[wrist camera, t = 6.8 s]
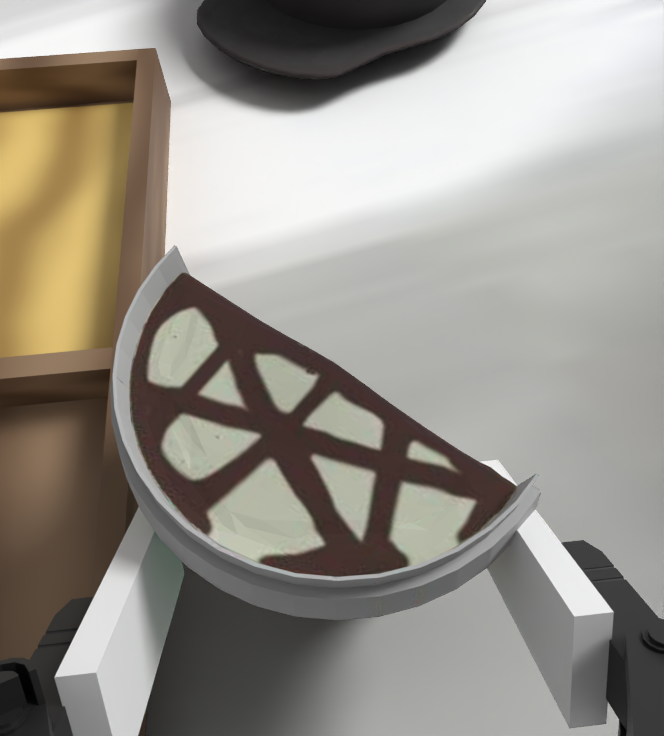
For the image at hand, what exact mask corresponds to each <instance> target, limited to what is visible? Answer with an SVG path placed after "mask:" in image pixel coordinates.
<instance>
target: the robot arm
mask: <svg viewBox="0 0 664 736" xmlns="http://www.w3.org/2000/svg"><path fill="white" fill-rule="evenodd" d="M481 463H483V464H485V465H487V466H489V467H491V468H492V469H494V470H495V471H496V472H497V473H499V474H500V475H501V476H503V477H504V478H506V479H507V480H509V481H510V482H512V483H513V484H514V485H516V486H517V484H516V483H515V482H514V481H513V479H512V478H511V477H510V475H509V474H508V473H507V471H506V470H505V469H504V467H503V466H502V465H501V463H500V462H499V461H498V460H491V461H481ZM487 569H488V571H489V573H490V574H491V576H492V578H493V580H494V582H495V584H496V586H497V588H498V590H499V592H500V594H501V596H502V598H503V600H504V602H505V604H506V606H507V608H508V610H509V611H510V613H511V615H512V617H513V619H514V621H515V623H516V625H517V627H518V629H519V631H520V633H521V635H522V637H523V639H524V641H525V643H526V645H527V647H528V648H529V650H530V652H531V654H532V656H533V658H534V660H535V662H536V664H537V666H538V668H539V670H540V672H541V674H542V676H543V678H544V680H545V682H546V684H547V685H548V687H549V689H550V691H551V693H552V695H553V697H554V699H555V701H556V703H557V705H558V707H559V709H560V711H561V713H562V715H563V717H564V719H565V721H566V722H567V724H568V726H569V728H576V727H584V726H592V725H600V724H606V718H607V704H608V702H609V704H610V705H611V707H612V709H613V710H614V712H615V714H616V715H617V717H618V718H619V730H618V736H664V620H663V619H660V618H658V617H657V615H656V614H655V613H654V612H653V611H652V610H651V608H650V607H649V606H648V605H647V604H646V603H645V601H644V600H643V599H642V598H641V597H640V596H639V594H638V593H637V592H636V591H635V590H634V589H633V587H632V586H631V585H630V584H629V583H628V582H627V580H624V578H623V576H622V575H621V573H620V572H619V571H618V570H617V569H616V568H614V565H613V564H612V563H611V562H610V561H609V559H608V558H607V557H606V556H605V555H604V554H603V552H602V551H600V550H598V549H597V548H595V547H593V546H592V545H590V544H589V543H587V542H585V541H584V540H581V541H572V542H563V543H561V542H560V541H559V540H558V538H557V537H556V536H555V534H554V533H553V532H552V530H551V529H550V528H549V526H548V525H547V524H546V523H545V521H544V520H543V519H542V517H541V516H540V515H539V513H538V512H537V511H536V509H535V510H534V512H533V513H532V514H531V515H530V516H529V517H528V518H527V520H526V521H525V522H524V523H523V524H522V525H521V526H520V527H519V529H517V531H516V533H515V536H514V538H513V540H512V542H511V545H510V546H509V547H508V548H507V549H506V550H505V551H504V552H503V553H502V554H501V555H500V556H499V557H498V558H497V559H496V560H495V561H494V562H493V563H492V564H491V565H490V566H489V567H488V568H487ZM183 578H184V569H183V564H182V561H181V560H180V559H179V558H178V557H177V556H176V555H175V554H174V553H173V552H172V551H171V550H170V549H169V548H168V547H167V546H166V545H165V544H164V543H163V542H162V541H161V540H160V538H159V537H158V535H157V534H156V532H155V531H154V529H153V528H152V526H151V525H150V523H149V522H148V521H147V519H146V518H145V516H144V515H143V513H142V512H141V510H140V508H139V507H138V509H137V512H136V514H135V516H134V518H133V520H132V522H131V524H130V526H129V528H128V530H127V532H126V534H125V536H124V538H123V540H122V542H121V544H120V546H119V548H118V550H117V552H116V554H115V556H114V558H113V560H112V562H111V564H110V566H109V568H108V570H107V572H106V574H105V576H104V578H103V580H102V582H101V584H100V586H99V588H98V590H97V592H96V594H95V596H94V597H86V598H77V599H72V600H70V601H69V602H68V603H67V604H66V605H65V606H64V607H63V608H62V609H61V610H60V611H59V612H58V613H56V614H55V616H54V618H53V619H52V621H51V623H50V625H49V626H48V628H47V630H46V634H45V635H43V637H42V639H41V640H40V642H39V644H38V648H37V649H35V651H34V653H33V655H32V656H31V658H30V660H28V659H25V658H9V659H5V660H2V661H0V736H138V734H139V731H140V727H141V724H142V720H143V717H144V713H145V710H146V706H147V703H148V699H149V696H150V692H151V689H152V686H153V682H154V679H155V675H156V672H157V668H158V665H159V661H160V658H161V654H162V651H163V647H164V644H165V640H166V637H167V633H168V630H169V626H170V623H171V620H172V616H173V613H174V609H175V606H176V602H177V599H178V595H179V592H180V588H181V585H182V581H183Z"/></svg>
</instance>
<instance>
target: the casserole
mask: <svg viewBox="0 0 664 736" xmlns="http://www.w3.org/2000/svg"><path fill="white" fill-rule="evenodd" d="M485 2H486V0H204V2H203V3H202V5H201V6H200V7H199V9H198V10H197V25H198V26H199V28H200V30H201V31H202V33H203V35H204V36H205V37H206V38H207V39H208V40H209V41H210V42H211V43H212V44H213V45H214V46H215V47H217V48H218V49H219V50H220V51H222V52H224V53H225V54H227V55H229V56H230V57H232V58H234V59H235V60H237V61H239V62H241V63H243V64H246V65H248V66H251V67H254V68H256V69H259V70H262V71H264V72H268V73H273V74H277V75H282V76H286V77H290V78H302V79H315V80H318V79H326V78H332V77H338V76H341V75H343V74H346V73H348V72H350V71H352V70H354V69H356V68H358V67H361V66H363V65H365V64H367V63H369V62H371V61H373V60H376V59H378V58H380V57H382V56H384V55H387V54H390V53H393V52H397V51H400V50H403V49H407V48H410V47H413V46H416V45H420V44H423V43H426V42H429V41H433V40H436V39H438V38H440V37H442V36H444V35H446V34H448V33H450V32H452V31H454V30H456V29H458V28H459V27H461V26H462V25H463V24H464V23H466V22H467V21H468V20H470V19H471V18H472V17H474V16H475V15H476V13H477V12H478V11H479V9H480V8H481V7H482V6H483V4H484V3H485Z"/></svg>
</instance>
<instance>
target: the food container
mask: <svg viewBox="0 0 664 736" xmlns="http://www.w3.org/2000/svg"><path fill="white" fill-rule="evenodd" d="M110 398H111V418H112V425H113V430H114V434H115V438H116V442H117V447H118V451H119V455H120V458H121V462H122V465H123V468H124V472H125V475H126V478H127V481H128V483H129V485H130V488H131V490H132V492H133V494H134V497H135V499H136V501H137V503H138V506H139V508H140V510H141V512H142V513H143V515H144V516H145V518H146V519H147V521H148V522H149V523H150V525H151V526H152V528H153V529H154V531H155V532H156V534H157V535H158V537H159V538H160V540H161V541H162V542H163V543H164V544H165V545H166V546H167V547H168V548H169V549H170V550H171V551H172V552H173V553H174V554H175V555H176V556H177V557H178V558H179V559H180V560H181V561H182V562H183V563H184V564H185V565H186V566H187V567H188V568H190V569H191V570H193V571H194V572H195V573H197V574H198V575H200V576H201V577H203V578H204V579H205V580H207V581H208V582H210V583H211V584H213V585H214V586H215V587H217V588H218V589H220V590H222V591H224V592H226V593H229V594H231V595H233V596H235V597H237V598H239V599H242V600H244V601H246V602H248V603H250V604H252V605H255V606H257V607H261V608H265V609H269V610H272V611H276V612H280V613H284V614H288V615H291V616H295V617H306V618H317V619H329V620H346V619H358V618H370V617H380V616H383V615H387V614H391V613H395V612H399V611H403V610H406V609H410V608H414V607H418V606H420V605H423V604H425V603H427V602H429V601H431V600H434V599H436V598H438V597H440V596H442V595H445V594H447V593H449V592H451V591H453V590H455V589H457V588H458V587H460V586H461V585H463V584H464V583H466V582H467V581H469V580H470V579H472V578H473V577H474V576H476V575H477V574H479V573H480V572H482V571H483V570H485V569H486V568H488V567H489V566H490V565H491V564H492V563H493V562H494V561H495V560H496V559H497V558H498V557H499V556H500V555H501V554H502V553H503V552H504V551H505V550H506V549H507V548H508V547H509V546H510V545H511V542H512V540H513V538H514V536H515V533H516V531H517V529H519V527H520V526H521V525H522V524H523V523H524V522H525V521H526V520H527V518H528V517H529V516H530V515H531V514H532V513H533V512H534V510H535V509H536V506H537V503H538V500H539V497H540V494H541V490H539V489H537V488H536V487H534V486H533V484H534V483H535V482H536V480H537V479H538V477H539V475H537V474H535V475H534V476H532V477H531V478H529V479H527V480H526V481H524V482H523V483H521V484H519V485H518V486H516V485H514V484H513V483H512V482H510V481H509V480H507V479H506V478H504V477H503V476H501V475H500V474H499V473H497V472H496V471H495V470H494V469H492V468H491V467H489V466H487V465H485V464H483V463H481V462H478V461H477V460H475V459H473V458H472V457H470V456H468V455H466V454H465V453H463V452H461V451H460V450H458V449H457V448H455V447H454V446H452V445H451V444H449V443H448V442H446V441H445V440H443V439H442V438H440V437H439V436H437V435H436V434H434V433H433V432H431V431H430V430H428V429H427V428H425V427H424V426H422V425H421V424H419V423H418V422H416V421H415V420H413V419H412V418H410V417H409V416H408V415H406V414H405V413H403V412H402V411H400V410H399V409H398V408H396V407H395V406H393V405H392V404H390V403H389V402H388V401H386V400H385V399H384V398H382V397H381V396H380V395H378V394H377V393H375V392H374V391H373V390H371V389H370V388H369V387H367V386H366V385H365V384H363V383H362V382H361V381H359V380H358V379H356V378H355V377H354V376H352V375H351V374H349V373H348V372H347V371H345V370H344V369H342V368H341V367H340V366H338V365H337V364H335V363H334V362H332V361H331V360H329V359H327V358H325V357H324V356H322V355H320V354H318V353H317V352H315V351H313V350H311V349H310V348H308V347H306V346H304V345H302V344H301V343H299V342H297V341H295V340H293V339H291V338H289V337H288V336H286V335H284V334H282V333H281V332H279V331H277V330H275V329H274V328H272V327H270V326H269V325H267V324H265V323H263V322H262V321H260V320H258V319H257V318H255V317H254V316H252V315H251V314H249V313H247V312H246V311H244V310H243V309H241V308H240V307H238V306H237V305H235V304H233V303H232V302H230V301H229V300H227V299H226V298H224V297H223V296H221V295H219V294H218V293H216V292H215V291H213V290H212V289H210V288H209V287H207V286H205V285H204V284H202V283H201V282H199V281H198V280H196V279H195V278H193V277H192V276H190V275H189V272H188V270H187V268H186V266H185V264H184V261H183V259H182V257H181V255H180V253H179V251H178V248H177V246H175V245H174V246H173V247H172V249H171V250H170V251H169V252H168V253H167V254H166V255H165V256H164V257H163V258H162V259H161V260H160V261H159V262H158V263H157V264H156V265H155V267H154V268H153V270H152V271H151V272H150V274H149V275H148V277H147V278H146V280H145V281H144V282H143V284H142V285H141V287H140V288H139V289H138V291H137V293H136V295H135V297H134V299H133V301H132V303H131V305H130V307H129V310H128V312H127V314H126V316H125V318H124V322H123V325H122V328H121V331H120V335H119V338H118V341H117V345H116V351H115V357H114V363H113V371H112V378H111V386H110Z"/></svg>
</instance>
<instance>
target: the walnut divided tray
mask: <svg viewBox="0 0 664 736" xmlns="http://www.w3.org/2000/svg"><path fill="white" fill-rule="evenodd" d="M170 107H171V101H170V97H169V94H168V90H167V87H166V83H165V80H164V76H163V73H162V69H161V66H160V62H159V58H158V55H157V51H156V48H149V49H135V50H121V51H107V52H93V53H78V54H64V55H50V56H36V57H21V58H7V59H0V661H2V660H5V659H9V658H25V659H28V660H30V658H31V656H32V655H33V653H34V651H35V649H37V648H38V644H39V642H40V640H41V639H42V637H43V635H45V634H46V630H47V628H48V626H49V625H50V623H51V621H52V619H53V618H54V616H55V614H56V613H58V612H59V611H60V610H61V609H62V608H63V607H64V606H65V605H66V604H67V603H68V602H69V601H70V600H72V599H77V598H86V597H94V596H95V594H96V592H97V590H98V588H99V586H100V584H101V582H102V580H103V578H104V576H105V574H106V572H107V570H108V568H109V566H110V564H111V562H112V560H113V558H114V556H115V554H116V552H117V550H118V548H119V546H120V544H121V542H122V540H123V538H124V536H125V534H126V532H127V530H128V528H129V526H130V524H131V522H132V520H133V518H134V516H135V514H136V512H137V509H138V507H139V506H138V503H137V501H136V499H135V497H134V494H133V492H132V490H131V488H130V485H129V483H128V481H127V478H126V475H125V472H124V468H123V465H122V462H121V458H120V455H119V451H118V447H117V442H116V438H115V434H114V430H113V425H112V418H111V398H110V386H111V378H112V371H113V363H114V357H115V351H116V345H117V341H118V338H119V335H120V331H121V328H122V325H123V322H124V318H125V316H126V314H127V312H128V310H129V307H130V305H131V303H132V301H133V299H134V297H135V295H136V293H137V291H138V289H139V288H140V287H141V285H142V284H143V282H144V281H145V280H146V278H147V277H148V275H149V274H150V272H151V271H152V270H153V268H154V267H155V265H156V264H157V263H158V262H159V261H160V260H161V259H162V258H163V257H164V256H165V232H166V207H167V182H168V157H169V132H170ZM145 730H146V710H145V713H144V717H143V720H142V724H141V727H140V731H139V734H138V736H145Z"/></svg>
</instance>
